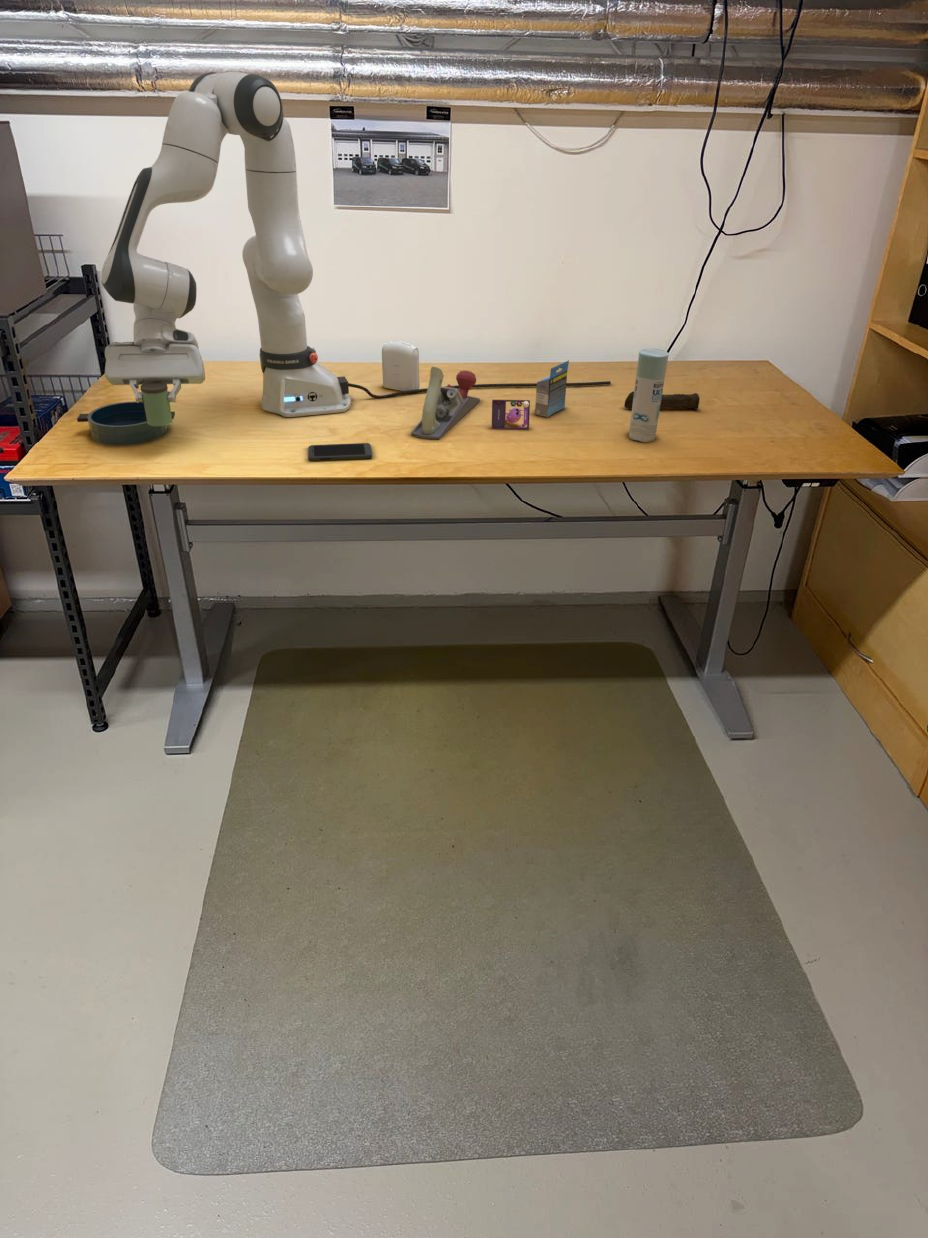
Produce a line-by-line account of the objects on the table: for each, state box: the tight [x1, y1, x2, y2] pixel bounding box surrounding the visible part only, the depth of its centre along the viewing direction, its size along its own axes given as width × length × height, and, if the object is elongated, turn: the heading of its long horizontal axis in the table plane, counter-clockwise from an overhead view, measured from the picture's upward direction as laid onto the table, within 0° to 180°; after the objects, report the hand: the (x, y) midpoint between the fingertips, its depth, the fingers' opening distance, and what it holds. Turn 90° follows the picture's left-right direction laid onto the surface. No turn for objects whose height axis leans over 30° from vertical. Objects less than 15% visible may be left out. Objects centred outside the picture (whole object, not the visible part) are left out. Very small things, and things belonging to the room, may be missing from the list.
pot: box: [87, 400, 168, 446], centre depth 198 cm, size 17×17×4 cm
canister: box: [139, 382, 173, 426], centre depth 184 cm, size 5×5×8 cm
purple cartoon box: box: [491, 399, 531, 430], centre depth 207 cm, size 7×5×9 cm
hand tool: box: [623, 390, 700, 411], centre depth 220 cm, size 19×4×5 cm, turn 92°
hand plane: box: [411, 365, 481, 440], centre depth 208 cm, size 7×31×15 cm, turn 160°
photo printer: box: [381, 340, 421, 392], centre depth 226 cm, size 10×4×12 cm, turn 63°
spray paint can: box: [628, 348, 669, 443], centre depth 198 cm, size 6×6×20 cm
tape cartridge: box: [534, 360, 570, 418], centre depth 214 cm, size 9×4×12 cm, turn 145°
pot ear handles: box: [76, 410, 176, 423], centre depth 197 cm, size 21×3×1 cm, turn 98°
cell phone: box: [307, 442, 373, 462], centre depth 191 cm, size 7×14×1 cm, turn 99°
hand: (156, 401), depth 183 cm, fingers closed on canister, 5 cm apart
